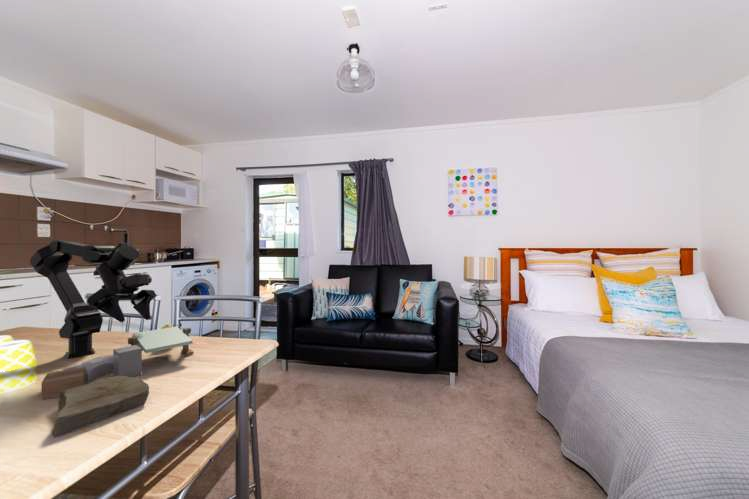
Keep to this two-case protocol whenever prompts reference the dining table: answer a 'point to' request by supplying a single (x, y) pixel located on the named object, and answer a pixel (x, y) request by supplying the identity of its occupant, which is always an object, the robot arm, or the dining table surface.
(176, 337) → the trapdoor
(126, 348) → the grey block
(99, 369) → the stone block
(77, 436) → the dining table surface
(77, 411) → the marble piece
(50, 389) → the plinth
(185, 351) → the trapdoor frame
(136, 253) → the robot arm
